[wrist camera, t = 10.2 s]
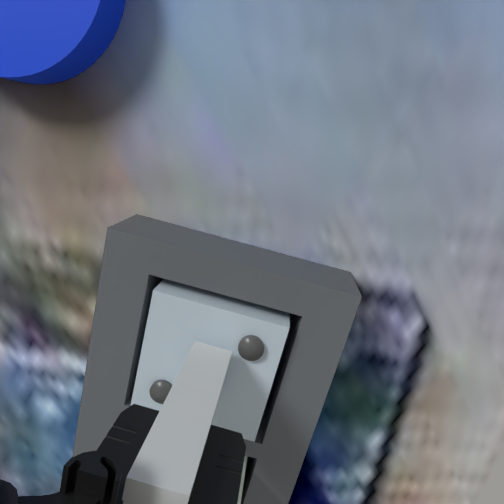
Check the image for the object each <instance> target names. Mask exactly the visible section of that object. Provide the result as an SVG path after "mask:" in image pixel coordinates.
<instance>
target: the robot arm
mask: <svg viewBox="0 0 504 504" xmlns="http://www.w3.org/2000/svg"><path fill="white" fill-rule="evenodd" d="M231 354H232V351H230V350H226V349H222V348H219V347H215V346H212V345H208V344H205V343H201V342H197V341H195V342H194V344H193V346H192V348H191V350H190V352H189V354H188V356H187V358H186V360H185V362H184V364H183V366H182V368H181V370H180V372H179V374H178V376H177V378H176V380H175V382H174V383H173V385H172V387H171V389H170V391H169V393H168V395H167V397H166V399H165V401H164V403H163V405H162V407H161V409H160V411H158V410H154V409H151V408H147V407H144V406H140V405H137V404H133V405H131V406H130V407H128V408H127V409H125V410H124V411H122V412H121V413H120V415H119V416H118V418H117V419H116V421H115V422H114V424H113V426H112V427H111V429H110V430H109V432H108V433H107V435H106V438H104V440H103V441H102V443H101V444H100V446H99V447H98V449H97V450H96V451H89V452H83V453H81V454H79V455H77V456H74V457H72V458H71V459H70V460H69V461H68V462H67V463H66V464H65V465H64V467H63V474H62V481H61V488H60V492H57V493H54V494H51V495H44V496H18V494H17V489H16V488H15V487H14V486H13V485H12V484H11V483H9V482H6V481H4V480H1V479H0V504H237V502H238V496H239V490H240V483H241V477H242V476H241V475H242V470H243V463H244V457H245V451H246V445H245V442H244V439H243V436H242V433H239V432H235V431H232V430H228V429H225V428H221V427H218V426H214V425H212V424H213V420H214V417H215V413H216V410H217V406H218V403H219V399H220V395H221V391H222V388H223V384H224V380H225V376H226V373H227V369H228V365H229V362H230V358H231Z"/></svg>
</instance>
